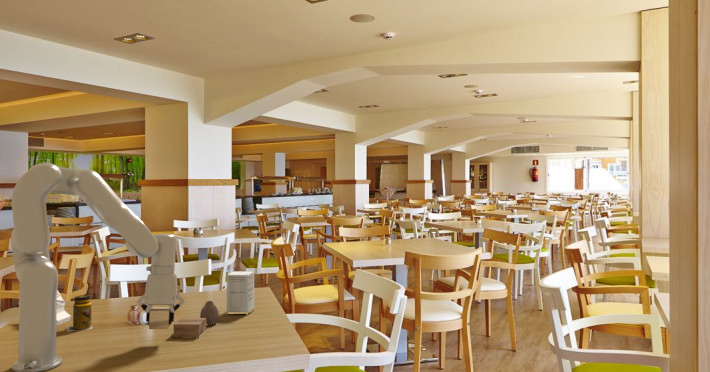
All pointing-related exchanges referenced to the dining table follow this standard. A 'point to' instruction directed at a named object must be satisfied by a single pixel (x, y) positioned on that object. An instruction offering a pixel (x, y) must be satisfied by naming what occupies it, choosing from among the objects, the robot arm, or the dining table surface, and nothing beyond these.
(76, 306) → the condiment
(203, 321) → the walnut block
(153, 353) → the dining table surface
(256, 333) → the dining table surface
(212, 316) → the vase
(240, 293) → the supplement box
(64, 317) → the white faceted lump
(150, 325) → the oak cube
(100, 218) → the robot arm
